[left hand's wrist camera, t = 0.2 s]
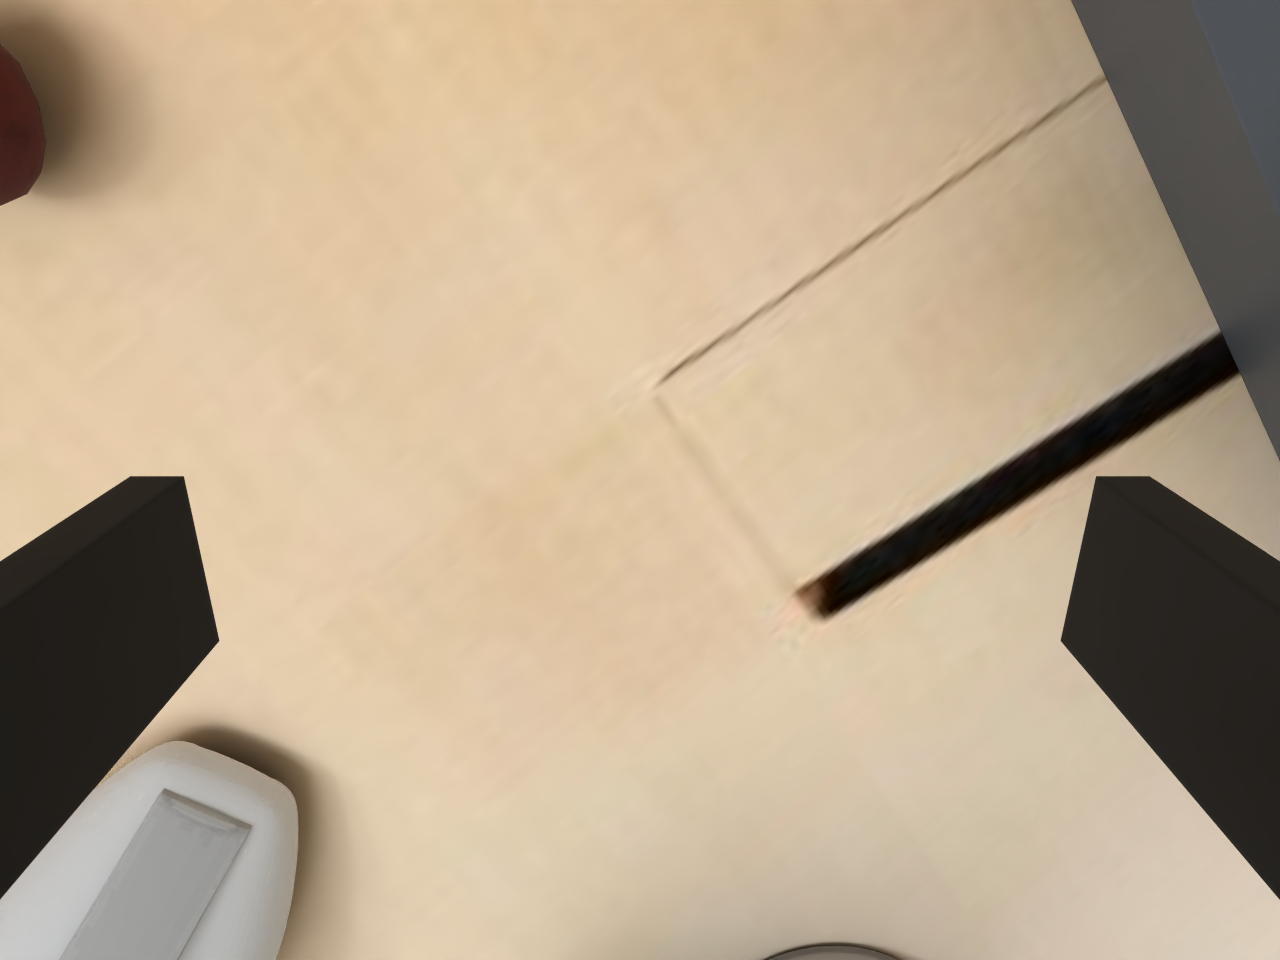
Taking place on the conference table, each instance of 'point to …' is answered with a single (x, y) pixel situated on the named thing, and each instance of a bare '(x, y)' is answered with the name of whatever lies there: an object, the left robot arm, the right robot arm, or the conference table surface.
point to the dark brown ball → (18, 131)
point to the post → (1210, 153)
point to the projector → (162, 867)
